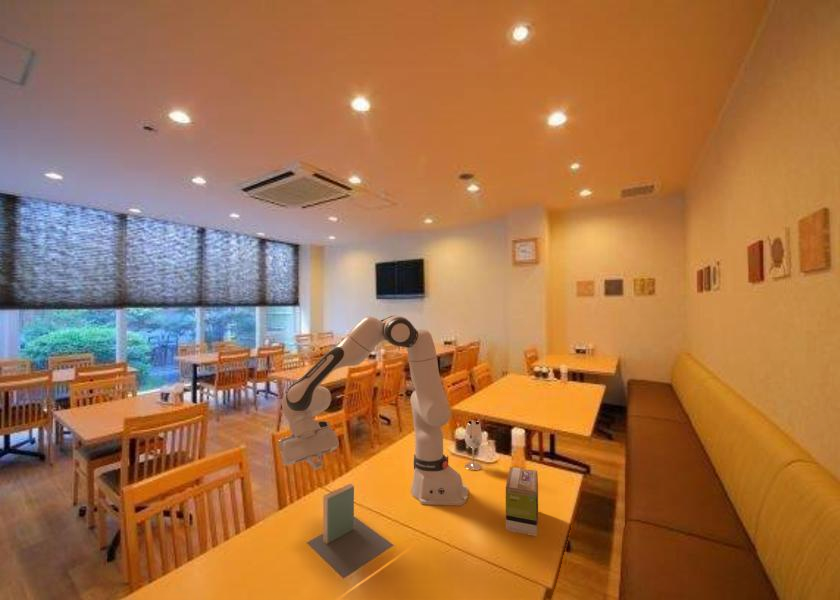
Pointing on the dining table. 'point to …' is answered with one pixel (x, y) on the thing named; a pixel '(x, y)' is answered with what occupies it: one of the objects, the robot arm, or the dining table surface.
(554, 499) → the dining table surface
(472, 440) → the wineglass
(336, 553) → the slate mat
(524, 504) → the tea box
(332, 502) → the glazed tile
